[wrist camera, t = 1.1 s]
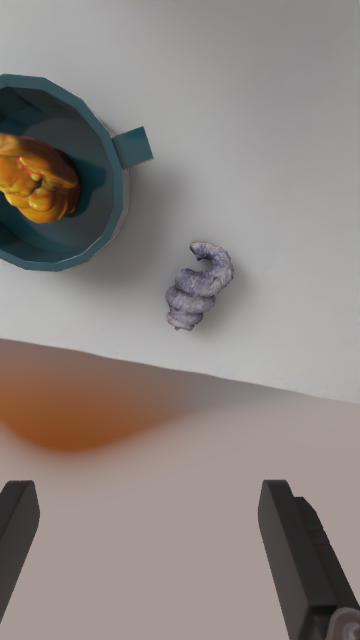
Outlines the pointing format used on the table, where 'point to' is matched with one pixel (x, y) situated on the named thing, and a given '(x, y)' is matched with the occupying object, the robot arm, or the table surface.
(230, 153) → the table surface
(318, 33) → the table surface
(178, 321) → the seashell
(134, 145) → the pot
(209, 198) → the table surface
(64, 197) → the figurine
